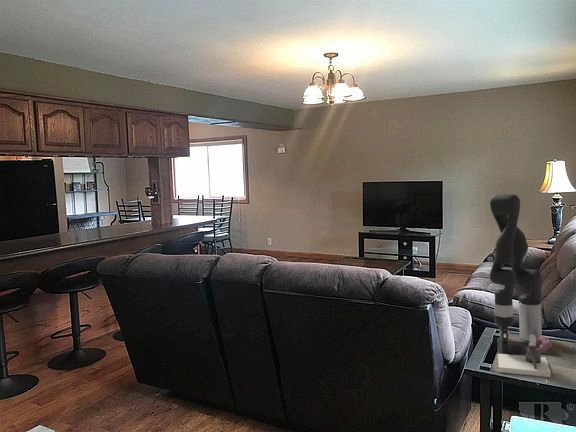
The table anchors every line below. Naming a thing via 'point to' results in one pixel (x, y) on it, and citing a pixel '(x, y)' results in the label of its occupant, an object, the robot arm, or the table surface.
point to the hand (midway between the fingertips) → (504, 351)
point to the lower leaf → (533, 352)
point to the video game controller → (543, 343)
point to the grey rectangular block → (513, 346)
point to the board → (522, 365)
